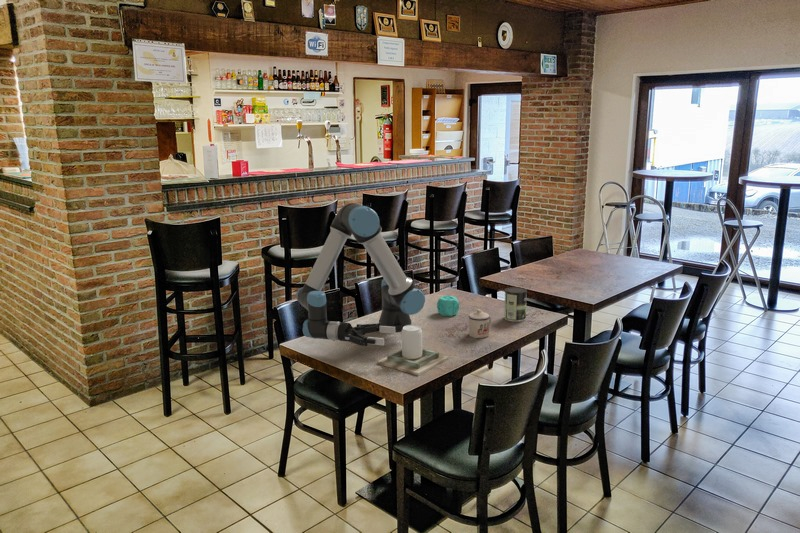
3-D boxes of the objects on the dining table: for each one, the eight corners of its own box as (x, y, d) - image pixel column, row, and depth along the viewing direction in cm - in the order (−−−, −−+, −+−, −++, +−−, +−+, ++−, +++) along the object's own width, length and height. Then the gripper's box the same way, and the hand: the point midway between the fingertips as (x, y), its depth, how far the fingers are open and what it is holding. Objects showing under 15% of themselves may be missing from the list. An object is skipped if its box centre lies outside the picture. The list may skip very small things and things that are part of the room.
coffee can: (525, 315, 293) (526, 287, 290) (526, 322, 283) (527, 293, 280) (503, 314, 295) (504, 286, 292) (504, 321, 285) (504, 292, 282)
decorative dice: (445, 317, 293) (445, 301, 291) (436, 312, 300) (436, 297, 298) (459, 314, 297) (459, 298, 295) (450, 310, 303) (450, 294, 302)
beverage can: (425, 358, 241) (425, 329, 238) (407, 361, 238) (406, 332, 235) (417, 351, 248) (416, 323, 245) (398, 354, 245) (398, 326, 242)
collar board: (377, 363, 239) (377, 356, 238) (408, 348, 254) (408, 341, 253) (418, 375, 227) (418, 368, 226) (448, 358, 242) (448, 351, 241)
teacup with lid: (479, 340, 262) (479, 314, 259) (464, 334, 269) (464, 309, 266) (498, 333, 269) (498, 308, 267) (482, 328, 276) (483, 303, 273)
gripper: (352, 330, 260) (399, 334, 254) (327, 351, 237) (379, 356, 231) (351, 313, 258) (399, 317, 252) (326, 332, 235) (378, 337, 229)
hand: (389, 336), depth 241 cm, fingers open, 13 cm apart
